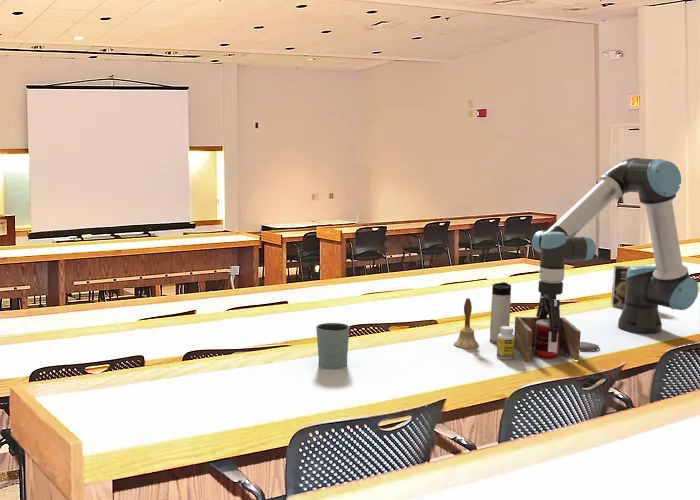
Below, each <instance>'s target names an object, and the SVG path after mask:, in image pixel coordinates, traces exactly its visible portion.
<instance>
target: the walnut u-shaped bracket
mask: <svg viewBox="0 0 700 500" xmlns="http://www.w3.org/2000/svg"><path fill="white" fill-rule="evenodd" d="M547 318H548V319H549V317H548V316H547ZM514 319H515V320H514V331H513V335H514V336H515V346H514V349H516V351H517V352H518V353H519V355H520V356H521V357H522V358H523V359H524V360H525V362H526V363H528V362H529V363H531V359H532V358H531V357H532V348H535V334H536V322H537V321H538V317H537V316H515V318H514ZM560 323H561V331H560V343H559V349H560V350H562V351H563V352H564V354H566V355H567V356H568V357H569V356H570V357H571V358H572V359H574V360H579V361H580V351H579V350H580V342H581V333H582V331H581V330H580V329H579V328H577V327H576V326H575V325H574V324H573V323H571V322H570V320H568V319H567V318H565V316H563V317H561V316H560ZM570 357H569V358H570ZM571 358H570V359H571ZM572 359H571V360H572Z"/></svg>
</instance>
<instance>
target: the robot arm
mask: <svg viewBox="0 0 700 500" xmlns="http://www.w3.org/2000/svg"><path fill="white" fill-rule="evenodd" d="M681 184H682V175H681V172H680V169H679V167H678V166H677V165H676V164H675V163H674V162H672V161H670V160H664V159H660V158H656V159H654V158H640V157H631V158H626V159H624V160H623V161H620V162H618V163H617V164H615V165H614V166H612V167H610V168H609V169H608V170H607V171H606V172H604V173H603V174H602V175H601V176H600V177H599V178H598V183H597V184H595V186H593V188H591V189H590V190H589V191H588V192H587V193H586V194H585V195H584V196H583V197H582V198H581V199H580V200H579V201H578V202H576V203H575V205H574V204H573V206H572V207H571V208H570V209H569V210H567V212H565V213H564V215H562V216H561V217H560V218H559V219H558V220H557V221H556V222H555V223H554V224H553V225H552V226H551V227H549V228H548V229H545V230H538V231H537V232H535V233H534V235H533V237H532V241H531V244H532V248H533V249H534V251H536V252H537V253H540V256H539V257H540V260H539V261H540V262H539V269H538V270H537V273H538V274H539V277H538V278H539V279H540V280H539V281H538V287H537V288H538V289H537V291H538V292H539V294H540V297H539V301H538V306H537V310H536V314H535V315H536V316H535V317H538V320H542V319H548V318H547V317H549V324H550V329H549V330H548V332H549V339H548V352H557V343H558V332H559V331H561V324H560V317H561V312H560V304H561V301H560V299H557V296H558V295H562V294H563V288H564V283H563V281H564V277H565V263H567V262H579V261H580V262H583V261H589V260H592V259H593V258H594V257H595V255H596V251H597V245H596V243H595V241H594V239H592V238H591V237H588V236H586V237H585V236H579V237H576V235H577V234H578V233H579V232H581V230H582V229H584V228H585V227H586V226H588V224H589V223H590V222H591V221H592V220H593V219H594V218H595V217H596V216H597V215H598V214H600V213H601V212H602V211H603V210H604V209H605V208H606V207H607V206H608V205H609V204H610V203H611V202H613V201H614V200H617V199H620V198H621V197H622V196H623V195H625V194H628V193H638V198H639V199H638V200H639V203H640V204H642V205H644V206H645V211H646V217H647V221H648V229H649V233H650V240H651V245H652V251H653V257H654V258H653V259H654V264H655V265H637V266H636V265H633V266H629V267H630V268H629V269H628V270H627V277H626V289H625V305H624V308H623V307H622V311H621V314H620V316H619V317H618V322H617V327H618V328H619V329H621V330H624V331H627V332H631V333H638V334H639V333H640V334H655V333H657V334H658V333H660V332H662V328H663V324H662V320H661V315H660V311H659V306H660V307H666V308H669V309H671V310H677V311H685V310H687V309H689V308H690V307H691V306H693V305H694V304H695V302H696V299H697V297H698V295H699V284H698V281H697V280H695V278H693V277H690V273H689V269H688V267H687V266H685V265H684V264H683V259H682V254H681V248H680V241H679V235H678V230H677V229H678V228H677V224H676V217H675V210H674V206H673V205H674V204H673V201H674V200H675V198H676V197H677V193H678V192H679V190H680V188H681V186H680V185H681Z"/></svg>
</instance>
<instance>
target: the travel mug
mask: <svg viewBox="0 0 700 500" xmlns="http://www.w3.org/2000/svg"><path fill="white" fill-rule="evenodd" d="M491 292H492V293H491V304H490V305H491V307H490V326H489V327H490V328H489V342H490V343H492V344H496V345H497V341H498V334H500V333H501V332H500V329H501V327H502V326H509V327H510V321H511V320H510V319H511V318H510V315H511V303H512V302H511V296H512V293H511V292H512V285H511V284H509V283H508V282H504V281H502V282H498V283H493V284H492V290H491Z"/></svg>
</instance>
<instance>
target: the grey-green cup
mask: <svg viewBox="0 0 700 500" xmlns="http://www.w3.org/2000/svg"><path fill="white" fill-rule="evenodd" d="M350 328H351V327H350V326H349V325H348V324H345V323H340V322H324V323H321V324H320V323H319V324H318V325H316V338H317V339H316V342H317V355H318V365H319V367H321V368H322V369H326V370H327V369H329V370H339V369H340V370H341V369H344V368H346V367H347V366H348V350H349V341H350V340H349V339H350Z"/></svg>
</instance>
